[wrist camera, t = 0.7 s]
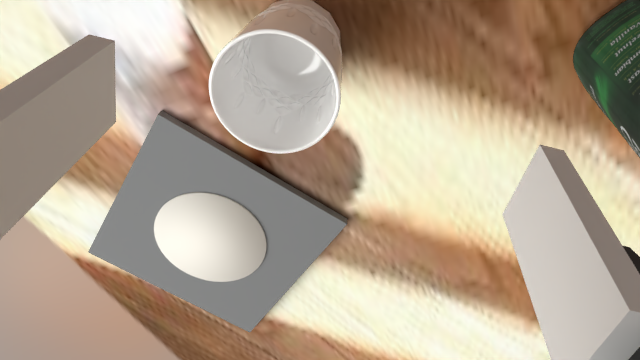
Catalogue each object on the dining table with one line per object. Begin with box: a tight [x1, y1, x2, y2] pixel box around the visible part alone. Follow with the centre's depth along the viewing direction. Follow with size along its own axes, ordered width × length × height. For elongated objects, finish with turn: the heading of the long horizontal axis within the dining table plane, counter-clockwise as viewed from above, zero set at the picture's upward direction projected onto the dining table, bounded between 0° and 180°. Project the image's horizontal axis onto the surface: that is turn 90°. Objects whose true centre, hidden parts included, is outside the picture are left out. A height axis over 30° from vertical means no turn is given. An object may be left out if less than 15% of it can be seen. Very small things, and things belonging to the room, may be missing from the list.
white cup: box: [209, 0, 342, 153], centre depth 34 cm, size 8×8×10 cm
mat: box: [89, 111, 347, 332], centre depth 49 cm, size 19×19×1 cm
